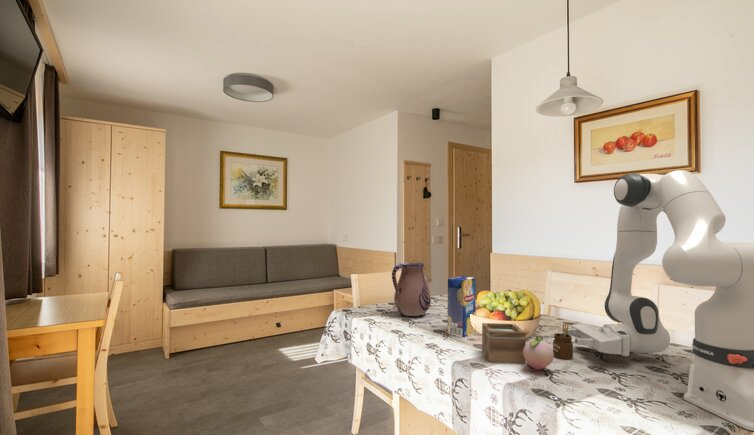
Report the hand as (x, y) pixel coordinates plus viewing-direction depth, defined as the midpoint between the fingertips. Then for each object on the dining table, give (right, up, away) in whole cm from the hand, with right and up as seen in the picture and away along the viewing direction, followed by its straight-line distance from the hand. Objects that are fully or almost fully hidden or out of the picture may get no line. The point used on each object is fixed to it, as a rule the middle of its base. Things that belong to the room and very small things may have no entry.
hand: (569, 336), depth 123 cm
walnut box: (-22, -6, -1) cm, 23 cm away
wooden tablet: (+25, -8, +12) cm, 29 cm away
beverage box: (-30, -7, +27) cm, 40 cm away
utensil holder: (-2, -7, 0) cm, 7 cm away
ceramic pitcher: (-48, -8, +56) cm, 74 cm away
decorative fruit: (-16, -6, -12) cm, 21 cm away
